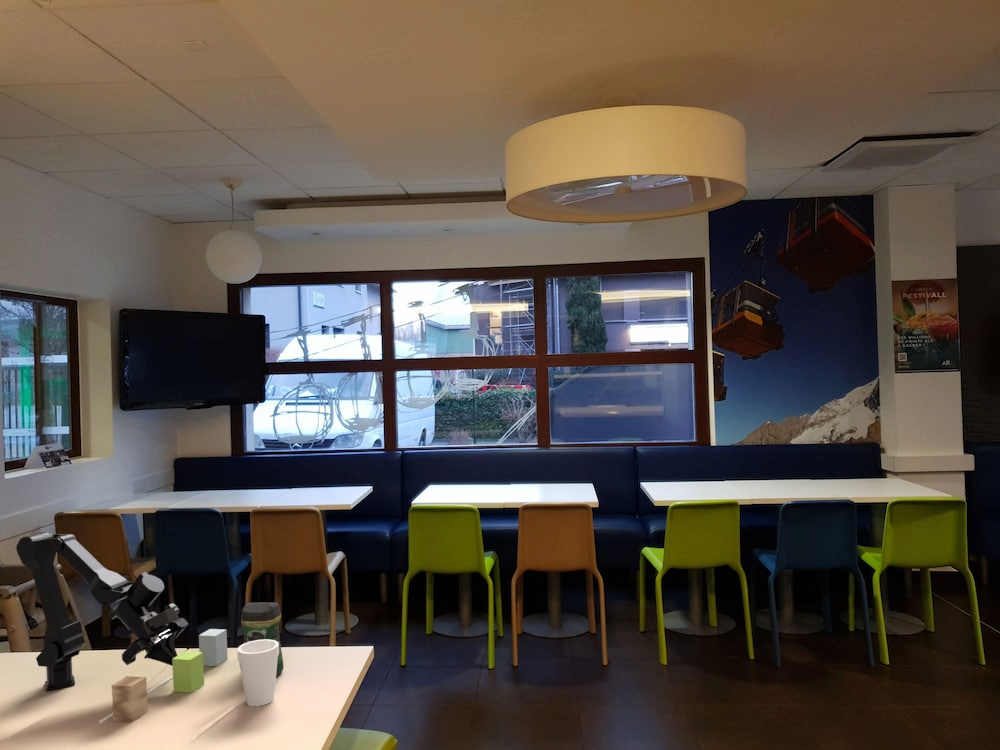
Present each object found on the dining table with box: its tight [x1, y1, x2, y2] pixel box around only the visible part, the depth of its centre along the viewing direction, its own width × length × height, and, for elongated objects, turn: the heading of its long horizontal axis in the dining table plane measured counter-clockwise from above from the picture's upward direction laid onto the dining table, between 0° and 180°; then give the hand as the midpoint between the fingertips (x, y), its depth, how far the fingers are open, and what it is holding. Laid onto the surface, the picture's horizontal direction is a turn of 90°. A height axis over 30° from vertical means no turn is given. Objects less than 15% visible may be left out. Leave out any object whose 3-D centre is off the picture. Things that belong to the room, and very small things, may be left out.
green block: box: [172, 651, 205, 694], centre depth 189 cm, size 5×5×8 cm
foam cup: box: [237, 639, 279, 707], centre depth 183 cm, size 10×9×13 cm
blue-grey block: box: [198, 628, 229, 667], centre depth 205 cm, size 5×5×8 cm
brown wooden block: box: [111, 675, 149, 723], centre depth 174 cm, size 5×5×8 cm
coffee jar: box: [240, 601, 284, 677], centre depth 199 cm, size 10×8×19 cm
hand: (178, 665), depth 189 cm, fingers closed, pressing on green block
